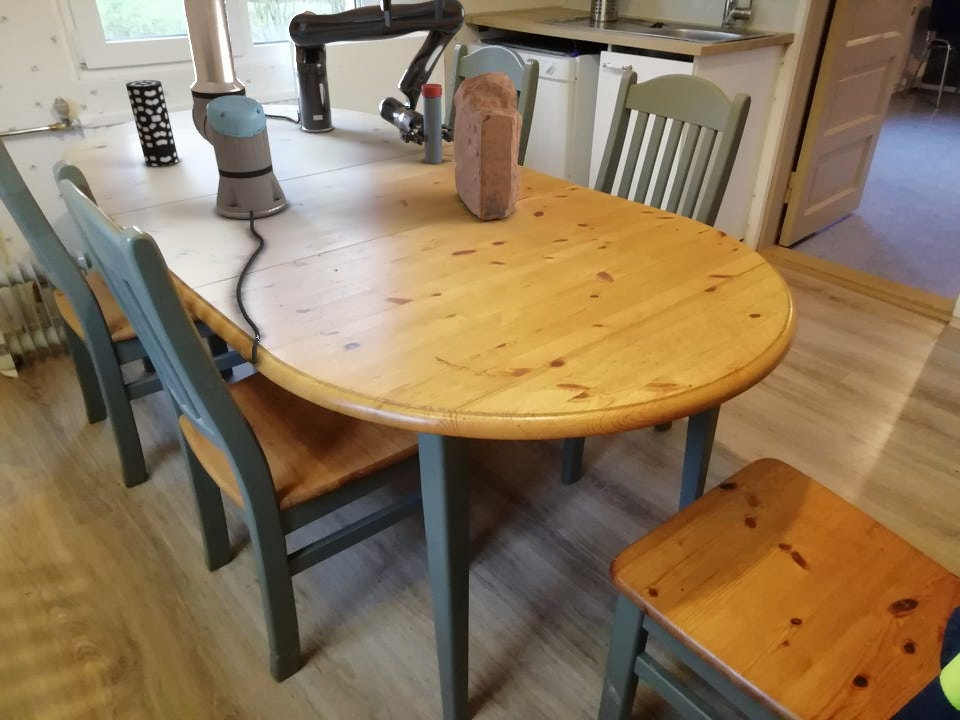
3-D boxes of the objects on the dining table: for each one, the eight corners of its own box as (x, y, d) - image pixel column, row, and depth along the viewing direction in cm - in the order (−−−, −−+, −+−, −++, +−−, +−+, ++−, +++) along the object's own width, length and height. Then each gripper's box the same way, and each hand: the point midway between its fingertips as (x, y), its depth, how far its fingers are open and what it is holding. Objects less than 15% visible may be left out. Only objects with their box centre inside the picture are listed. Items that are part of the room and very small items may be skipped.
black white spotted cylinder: (184, 157, 190) (167, 80, 179) (169, 166, 183) (151, 87, 172) (155, 156, 190) (136, 79, 179) (139, 165, 183) (119, 86, 172)
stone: (529, 217, 153) (533, 83, 139) (481, 223, 150) (480, 86, 136) (496, 190, 171) (497, 69, 157) (453, 195, 168) (450, 71, 154)
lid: (446, 95, 181) (446, 85, 180) (433, 98, 177) (432, 88, 176) (430, 92, 184) (430, 82, 182) (417, 95, 180) (417, 85, 179)
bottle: (445, 161, 190) (444, 87, 180) (434, 165, 187) (432, 90, 177) (432, 157, 193) (430, 84, 182) (421, 161, 189) (418, 87, 179)
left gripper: (365, -77, 152) (373, 29, 164) (464, -77, 162) (465, 22, 174) (353, -77, 158) (361, 25, 169) (450, -77, 168) (451, 19, 179)
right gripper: (390, 114, 193) (410, 128, 180) (437, 110, 198) (460, 123, 185) (391, 141, 197) (411, 157, 184) (438, 136, 202) (460, 151, 190)
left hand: (414, 24), depth 171 cm, fingers open, 13 cm apart
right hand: (435, 140), depth 185 cm, fingers open, 8 cm apart
